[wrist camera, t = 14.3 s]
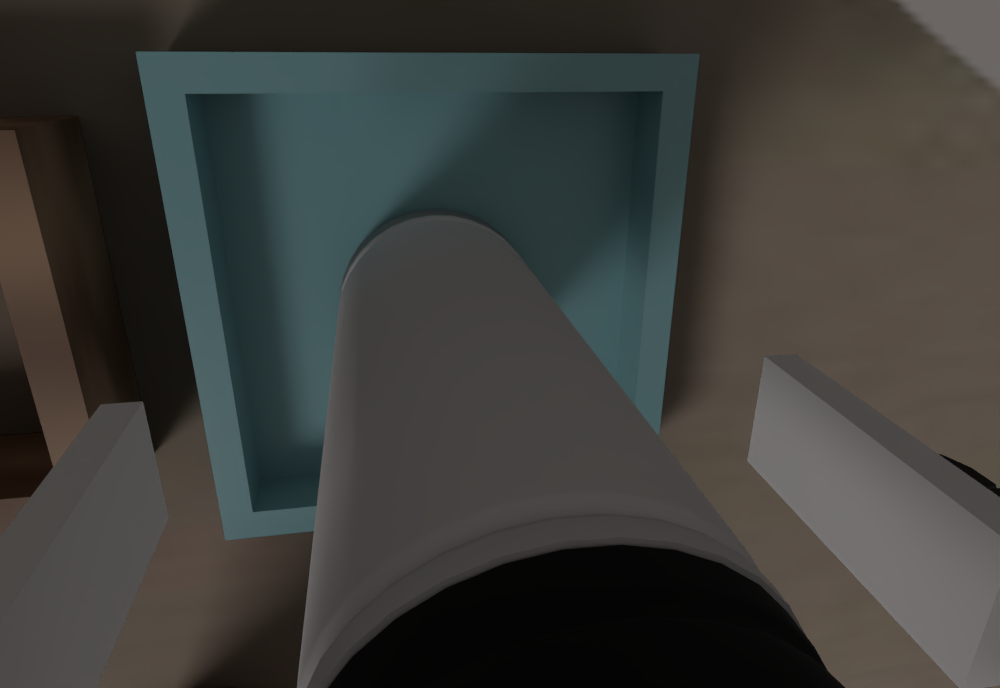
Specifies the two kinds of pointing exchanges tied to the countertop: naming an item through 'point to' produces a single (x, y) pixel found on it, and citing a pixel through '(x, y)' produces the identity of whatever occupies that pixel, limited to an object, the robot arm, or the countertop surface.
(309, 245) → the tray
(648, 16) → the countertop surface
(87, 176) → the open wooden box
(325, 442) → the travel mug
